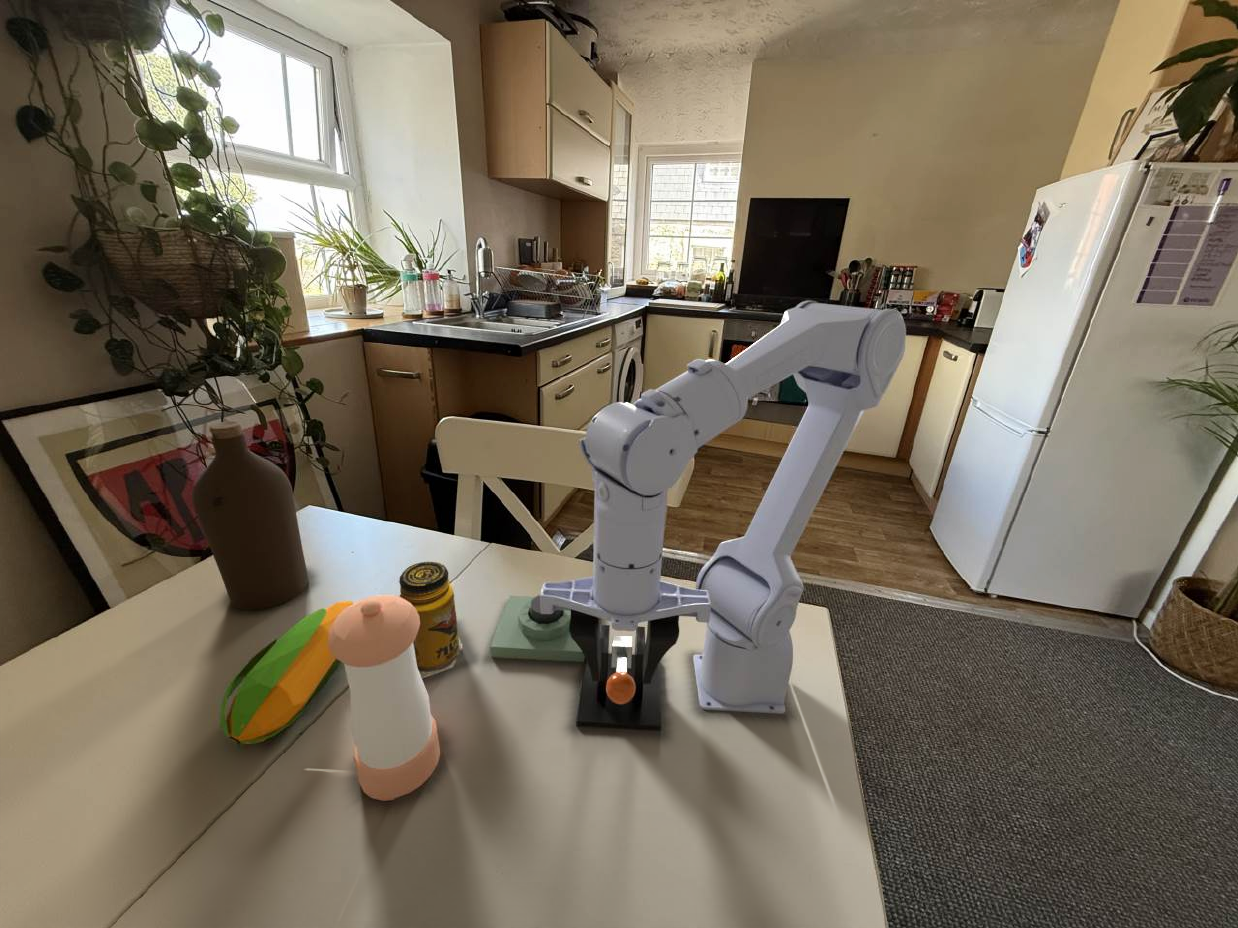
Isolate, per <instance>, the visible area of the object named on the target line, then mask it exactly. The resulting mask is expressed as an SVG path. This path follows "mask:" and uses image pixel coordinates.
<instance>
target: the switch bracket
mask: <svg viewBox="0 0 1238 928" xmlns="http://www.w3.org/2000/svg"><path fill="white" fill-rule="evenodd" d="M610 627H611V626H610V624H601V623H600V643H601V668H600V679H599V681H592V677H591V672H590V669H589V666H588V663H587V661H586V658H584V662H583V665H582V674H581V681H580V689H579V695H578V696H579V697H578V704H577V710H576V719H575V727H585V728H587V727H588V728H604V729H621V730H623V729H625V730H639V731H640V730H641V731H642V730H643V731H656V732H657V731H659V732H661V731H662V712H661V692H660V674H659V665H658V666H657V668H656V670H655V672H654V674H653V677H652V680H651V683H650V684H643V656H644V650H645V644H646V626H639V625H638V627H637V630H635V639H634V641H635V642H634V643H635V644H634V654H633V653H632V666H631V669H629V668H627V673H628V674H629V675H630V676H631V677H632V678H633V680H634V682H635V686H636V690H635V694H634V696H633V698H632V699H631V700H630V701H629V702H627V703H625V704H617V703H614V702H613V701H611V700H610V698H609V697H608V695H607V692H606V684H607V681H608V679H609V677H610V676H611V675H612V674H614V673H616V668H611V657H612V652H610V629H611V628H610Z"/></svg>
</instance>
